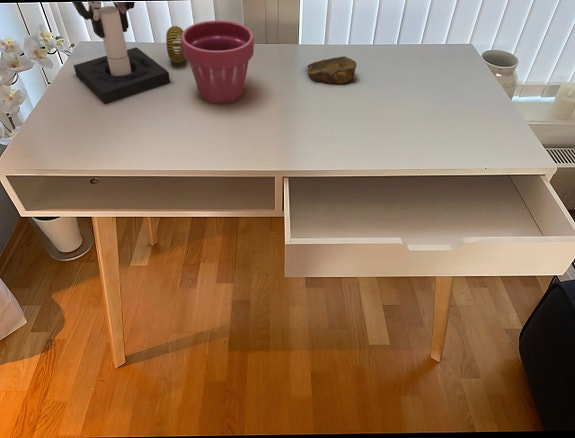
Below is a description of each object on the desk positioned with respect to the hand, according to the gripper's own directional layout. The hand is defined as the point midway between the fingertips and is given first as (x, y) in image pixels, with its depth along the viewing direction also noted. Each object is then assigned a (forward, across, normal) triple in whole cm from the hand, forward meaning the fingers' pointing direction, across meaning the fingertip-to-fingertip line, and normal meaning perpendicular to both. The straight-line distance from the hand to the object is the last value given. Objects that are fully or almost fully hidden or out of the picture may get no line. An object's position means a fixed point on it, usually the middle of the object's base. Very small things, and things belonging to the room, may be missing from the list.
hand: (112, 33), depth 105 cm
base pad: (+10, 0, 0) cm, 10 cm away
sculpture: (+10, -14, 0) cm, 18 cm away
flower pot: (+10, -14, +18) cm, 25 cm away
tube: (+10, 0, 0) cm, 10 cm away
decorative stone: (+10, -38, +26) cm, 47 cm away
